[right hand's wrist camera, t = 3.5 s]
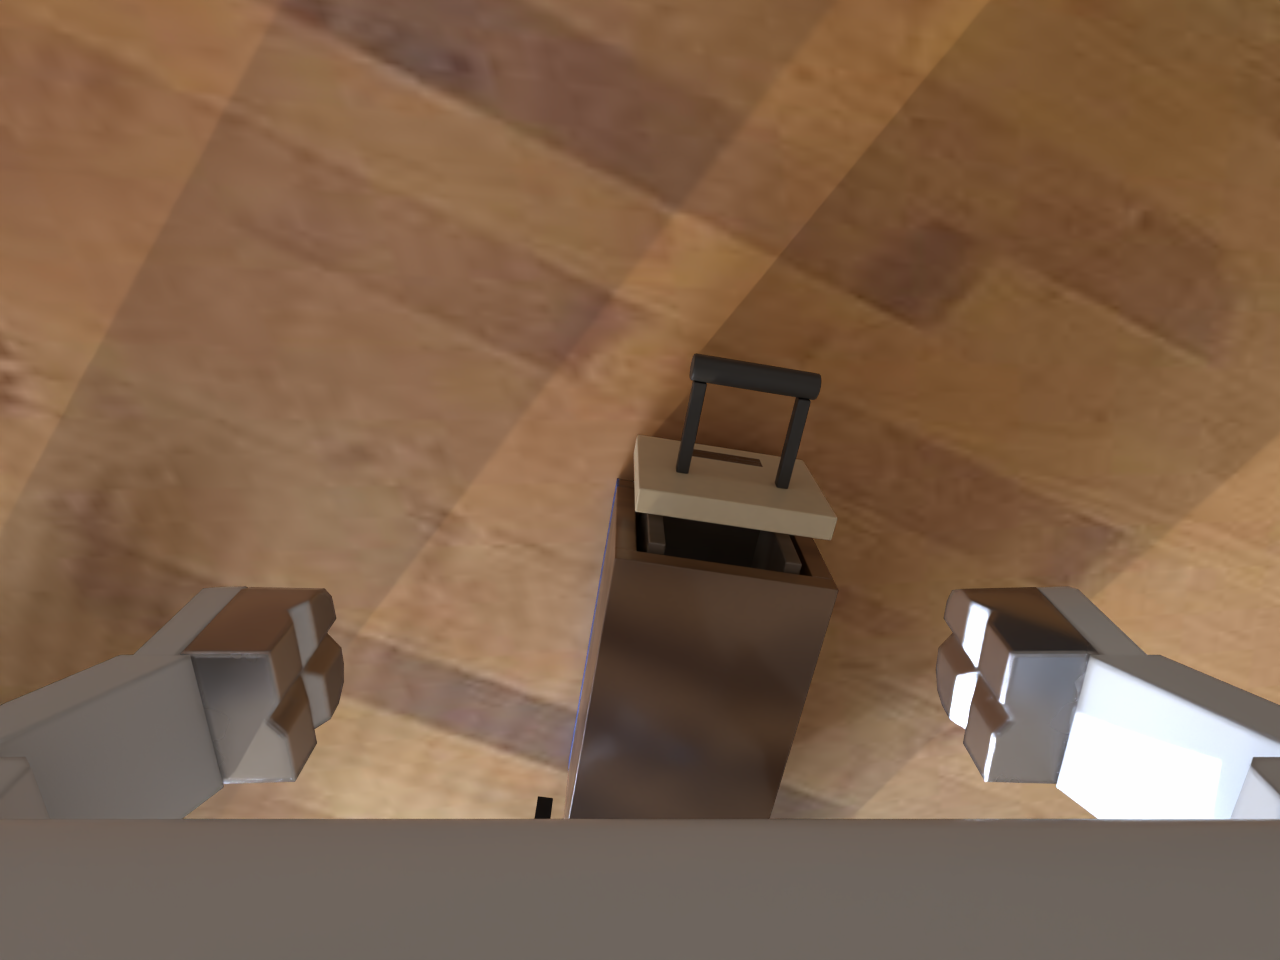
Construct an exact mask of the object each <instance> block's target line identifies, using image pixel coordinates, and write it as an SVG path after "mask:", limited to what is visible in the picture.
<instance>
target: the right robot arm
mask: <svg viewBox="0 0 1280 960" xmlns="http://www.w3.org/2000/svg"><path fill="white" fill-rule="evenodd" d="M335 620H336V615H335V610H334V605H333V600H332V596H331V595H330V594H329V593H328V592H327V591H326V589H324V588H271V587H250V588H248V587H246V586H238V587H211V588H203V589H202V590H201V591H200V592H199V593H198V594H197V595H196V596H195V597H194V598H193V599H191V600H190V601H189V602H188V603H187V604H186V605H185V606H184V607H183V608H182V609H181V610H180V611H179V612H178V613H177V614H176V615H175V616H174V617H172V618H171V619H170V620H169V621H168V622H167V623H166V624H165V625H164V626H163V627H162V628H161V629H160V630H159V631H158V632H157V633H156V634H155V635H153V636H152V637H151V638H150V639H149V640H148V641H147V642H146V643H145V644H144V645H143V646H142V647H141V648H140V649H139V650H138V651H137V652H136V653H135V654H133V655H119V656H117V657H114V658H112V659H109V660H107V661H105V662H102V663H100V664H97V665H95V666H93V667H90V668H88V669H85V670H83V671H81V672H78V673H76V674H74V675H71V676H69V677H66V678H64V679H62V680H59V681H57V682H54V683H52V684H50V685H47V686H45V687H42V688H40V689H38V690H35V691H33V692H31V693H28V694H26V695H23V696H21V697H19V698H16V699H14V700H11V701H9V702H7V703H4V704H2V705H0V960H1280V705H1278V704H1275V703H1273V702H1271V701H1268V700H1266V699H1264V698H1261V697H1259V696H1256V695H1254V694H1252V693H1249V692H1247V691H1244V690H1242V689H1240V688H1237V687H1235V686H1233V685H1230V684H1228V683H1225V682H1223V681H1221V680H1218V679H1216V678H1214V677H1211V676H1209V675H1206V674H1204V673H1202V672H1199V671H1197V670H1194V669H1192V668H1190V667H1187V666H1185V665H1183V664H1180V663H1178V662H1175V661H1173V660H1171V659H1168V658H1166V657H1163V656H1161V655H1147V654H1146V653H1144V652H1143V651H1142V650H1141V649H1140V648H1139V647H1138V646H1137V645H1136V644H1135V643H1134V642H1133V641H1132V640H1131V639H1130V638H1129V637H1128V636H1127V635H1126V634H1125V633H1123V632H1122V631H1121V630H1120V629H1119V628H1118V627H1117V626H1116V625H1115V624H1114V623H1113V622H1112V621H1111V620H1110V619H1109V618H1108V617H1107V616H1106V615H1105V614H1104V613H1102V612H1101V611H1100V610H1099V609H1098V608H1097V607H1096V606H1095V605H1094V604H1093V603H1092V602H1091V601H1090V600H1089V599H1088V598H1087V597H1086V596H1085V595H1084V594H1082V593H1081V592H1080V591H1079V590H1078V589H1075V588H1072V587H1069V586H1059V587H1022V588H981V589H958V590H952V592H951V594H950V596H949V598H948V600H947V603H946V609H945V614H944V620H945V621H946V623H947V624H948V626H949V627H950V629H951V630H952V632H953V633H952V634H951V635H950V636H949V638H948V639H947V640H946V641H945V642H944V643H943V644H942V645H941V646H940V647H939V649H938V657H937V664H936V678H937V689H938V693H939V697H940V700H941V703H942V706H943V708H944V710H945V712H946V713H947V715H948V717H949V719H950V720H952V721H954V722H955V723H957V724H958V725H960V726H961V727H963V728H965V729H966V730H965V735H964V741H963V744H964V746H965V747H966V749H967V751H968V753H969V754H970V756H971V758H972V760H973V761H974V763H975V765H976V767H977V768H978V770H979V772H980V774H981V775H982V777H983V779H984V781H985V782H1015V783H1052V784H1057V785H1056V787H1057V788H1058V789H1060V790H1061V791H1062V792H1064V793H1065V794H1066V795H1068V796H1069V797H1070V798H1072V799H1073V800H1074V801H1076V802H1077V803H1078V804H1079V805H1081V806H1082V807H1083V808H1085V809H1086V810H1087V811H1089V812H1090V813H1091V814H1093V815H1094V816H1095V817H1097V818H1098V819H182V818H184V817H185V816H186V815H188V814H189V813H190V812H192V811H193V810H194V809H196V808H197V807H198V806H199V805H201V804H202V803H203V802H205V801H206V800H207V799H209V798H210V797H211V796H213V795H214V794H215V793H217V792H218V791H219V790H221V789H222V788H223V787H224V785H223V784H228V783H263V782H295V781H296V779H297V777H298V776H299V774H300V772H301V770H302V769H303V767H304V765H305V763H306V762H307V760H308V758H309V756H310V754H311V753H312V751H313V749H314V747H315V746H316V744H317V741H316V735H315V730H314V729H315V728H317V727H319V726H320V725H322V724H323V723H325V722H326V721H328V720H330V719H331V717H332V715H333V713H334V711H335V710H336V708H337V706H338V704H339V700H340V696H341V692H342V687H343V683H344V662H343V655H342V649H341V647H340V646H339V645H338V644H337V643H336V642H335V641H334V640H333V639H332V638H331V636H330V635H329V634H328V633H327V632H328V630H329V629H330V627H331V626H332V624H333V623H334V621H335Z"/></svg>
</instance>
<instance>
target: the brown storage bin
mask: <svg viewBox="0 0 1280 960" xmlns="http://www.w3.org/2000/svg"><path fill="white" fill-rule="evenodd" d="M640 515H641V512H636V511H635V487H634V481H627V480H620V479H618V478H617V482H616V488H615V494H614V499H613V505H612V511H611V517H610V523H609V529H608V535H607V541H606V546H605V552H604V558H603V564H602V570H601V576H600V582H599V588H598V593H597V599H596V605H595V611H594V617H593V623H592V629H591V635H590V640H589V646H588V652H587V658H586V664H585V670H584V676H583V682H582V687H581V693H580V699H579V705H578V711H577V717H576V723H575V729H574V734H573V740H572V746H571V752H570V758H569V767H568V780H567V790H566V800H565V810H564V819H770V815H771V812H772V809H773V806H774V802H775V799H776V796H777V792H778V789H779V786H780V782H781V779H782V776H783V772H784V769H785V766H786V762H787V759H788V756H789V753H790V749H791V746H792V743H793V739H794V736H795V733H796V729H797V726H798V723H799V719H800V716H801V713H802V709H803V706H804V703H805V699H806V696H807V693H808V690H809V686H810V683H811V680H812V676H813V673H814V670H815V666H816V663H817V660H818V656H819V653H820V650H821V646H822V643H823V640H824V637H825V633H826V630H827V627H828V623H829V620H830V617H831V613H832V610H833V607H834V603H835V600H836V597H837V593H838V588H837V586H836V584H835V582H834V580H833V578H832V576H831V574H830V572H829V570H828V568H827V566H826V564H825V562H824V560H823V558H822V556H821V554H820V552H819V550H818V548H817V546H816V544H815V542H814V540H813V538H810V537H804V536H797V535H790V534H789V537H790V539H791V541H792V543H793V546H794V548H795V550H796V553H797V555H798V557H799V559H800V562H801V564H802V566H801V570H800V573H799V575H798V574H791V573H784V572H777V571H770V570H763V569H756V568H749V567H742V566H735V565H728V564H721V563H714V562H707V561H701V560H694V559H687V558H680V557H673V556H666V555H659V554H652V553H645V552H638V551H637V550H636V536H637V531H638V525H639V520H640Z"/></svg>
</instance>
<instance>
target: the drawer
mask: <svg viewBox="0 0 1280 960" xmlns="http://www.w3.org/2000/svg"><path fill="white" fill-rule="evenodd" d="M690 379H691V380H693V383H692V388H691V393H690V398H689V403H688V408H687V413H686V418H685V423H684V428H683V433H682V438H681V441H677V440H670V439H664V438H657V437H651V436H644V435H637V438H636V444H635V450H634V487H635V511H636V512H641V515H640V520H639V525H638V531H637V536H636V550H637V551H638V552H645V553H652V554H659V555H666V556H673V557H680V558H687V559H694V560H701V561H707V562H714V563H721V564H728V565H735V566H742V567H749V568H756V569H763V570H770V571H777V572H784V573H791V574H798V575H799V573H800V570H801V566H802V564H801V562H800V559H799V557H798V555H797V553H796V550H795V548H794V546H793V543H792V541H791V539H790V537H789V534H790V535H797V536H804V537H810V538H817V539H824V540H831V539H832V536H833V532H834V529H835V525H836V522H837V516H836V515H835V513H834V511H833V510H832V508H831V506H830V505H829V503H828V501H827V500H826V498H825V496H824V495H823V493H822V491H821V490H820V488H819V486H818V485H817V483H816V481H815V480H814V478H813V476H812V475H811V473H810V471H809V470H808V468H807V466H806V465H805V463H804V461H803V460H798V459H796V456H797V452H798V449H799V445H800V441H801V437H802V433H803V429H804V425H805V422H806V418H807V414H808V410H809V406H810V402H811V401H810V400H815V399H816V398H817V396H818V394H819V392H820V388H821V376H820V375H819V374H817V373H811V372H805V371H799V370H793V369H787V368H781V367H775V366H769V365H763V364H756V363H750V362H744V361H738V360H732V359H726V358H720V357H714V356H708V355H702V354H694V356H693V358H692V362H691V367H690ZM706 383H712V384H718V385H724V386H730V387H736V388H742V389H749V390H755V391H761V392H767V393H773V394H779V395H786V396H792V397H796V399H795V403H794V407H793V411H792V415H791V419H790V423H789V427H788V431H787V435H786V439H785V443H784V447H783V451H782V455H781V457H779V456H773V455H766V454H760V453H754V452H747V451H741V450H734V449H728V448H721V447H715V446H709V445H702V444H696V443H695V439H696V434H697V430H698V425H699V420H700V415H701V410H702V405H703V401H704V396H705V391H706V386H707V384H706ZM809 399H810V400H809Z"/></svg>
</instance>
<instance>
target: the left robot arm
mask: <svg viewBox="0 0 1280 960" xmlns="http://www.w3.org/2000/svg"><path fill="white" fill-rule="evenodd" d="M552 802H553V798H546V797H538V800H537V807H536V813H535V819H550V817H551V809H552Z"/></svg>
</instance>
